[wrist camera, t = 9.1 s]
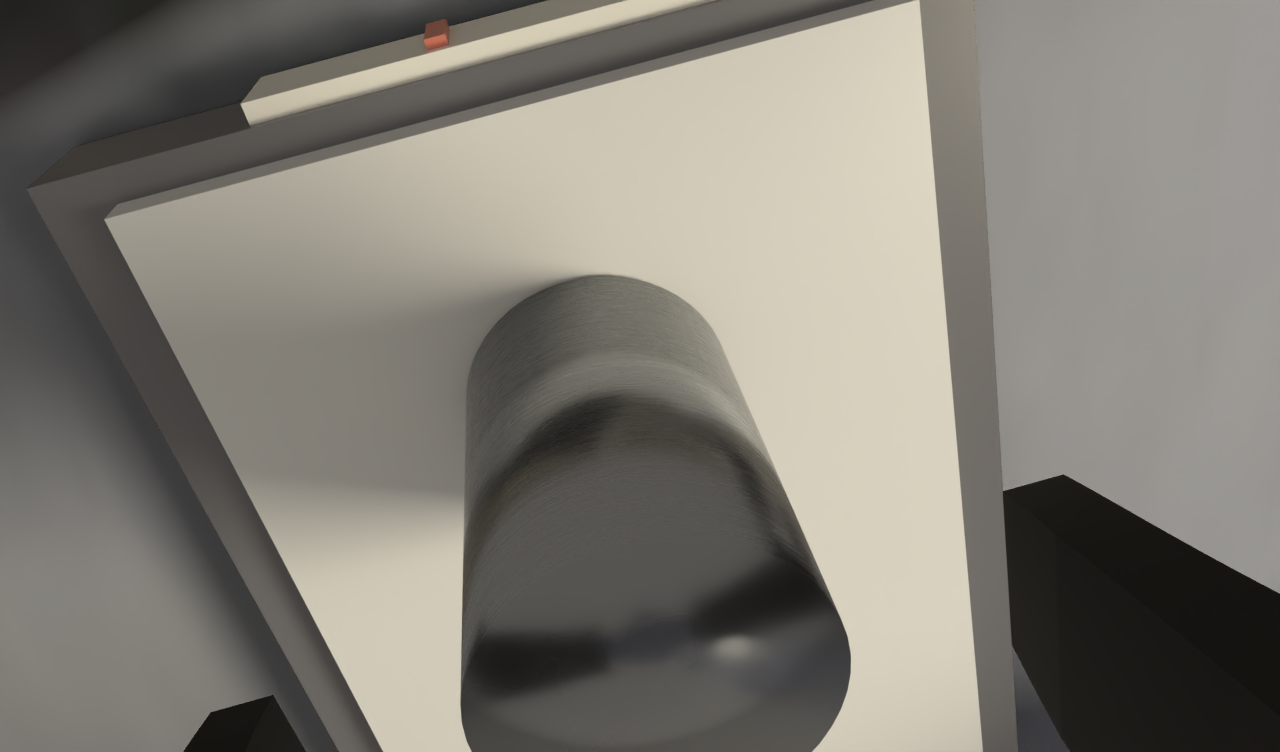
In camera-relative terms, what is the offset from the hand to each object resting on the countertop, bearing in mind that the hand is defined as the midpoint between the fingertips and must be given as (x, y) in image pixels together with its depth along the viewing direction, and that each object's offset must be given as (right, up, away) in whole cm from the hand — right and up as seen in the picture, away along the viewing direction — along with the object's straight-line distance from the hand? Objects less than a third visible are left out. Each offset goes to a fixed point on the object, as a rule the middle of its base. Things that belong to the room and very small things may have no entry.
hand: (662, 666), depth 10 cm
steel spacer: (-1, +3, +6) cm, 6 cm away
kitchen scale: (0, 0, +10) cm, 10 cm away
